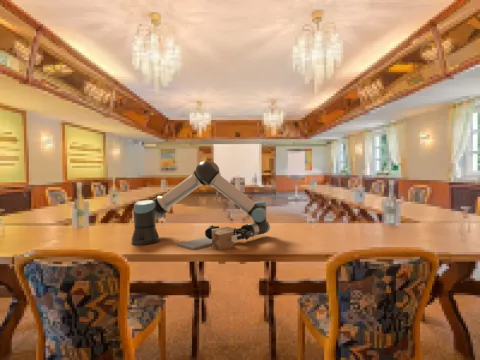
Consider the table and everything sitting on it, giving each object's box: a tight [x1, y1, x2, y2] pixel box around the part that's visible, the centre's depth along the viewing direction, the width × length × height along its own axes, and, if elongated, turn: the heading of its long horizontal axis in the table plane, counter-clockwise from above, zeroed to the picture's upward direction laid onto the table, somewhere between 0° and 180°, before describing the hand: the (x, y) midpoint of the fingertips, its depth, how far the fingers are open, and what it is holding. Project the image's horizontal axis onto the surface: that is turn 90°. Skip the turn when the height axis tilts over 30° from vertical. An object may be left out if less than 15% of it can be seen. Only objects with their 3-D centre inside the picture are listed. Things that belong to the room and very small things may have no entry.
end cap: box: [204, 224, 220, 239], centre depth 176 cm, size 10×7×7 cm
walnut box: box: [211, 226, 235, 251], centre depth 152 cm, size 6×10×10 cm, turn 137°
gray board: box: [177, 237, 212, 251], centre depth 159 cm, size 14×18×1 cm
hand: (222, 236), depth 151 cm, fingers open, 13 cm apart
